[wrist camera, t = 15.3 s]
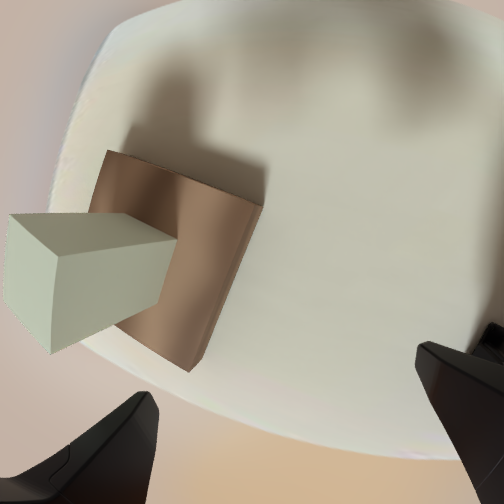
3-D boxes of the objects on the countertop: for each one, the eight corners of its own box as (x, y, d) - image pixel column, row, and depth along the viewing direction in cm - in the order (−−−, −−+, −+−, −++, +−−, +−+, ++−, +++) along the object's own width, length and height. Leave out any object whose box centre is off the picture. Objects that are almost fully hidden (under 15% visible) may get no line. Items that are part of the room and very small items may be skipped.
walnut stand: (263, 207, 20) (254, 204, 17) (201, 358, 22) (188, 372, 20) (126, 154, 22) (107, 149, 20) (90, 287, 24) (72, 292, 22)
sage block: (177, 239, 19) (58, 256, 9) (157, 303, 20) (50, 354, 10) (124, 213, 20) (9, 214, 10) (108, 273, 21) (3, 300, 11)
